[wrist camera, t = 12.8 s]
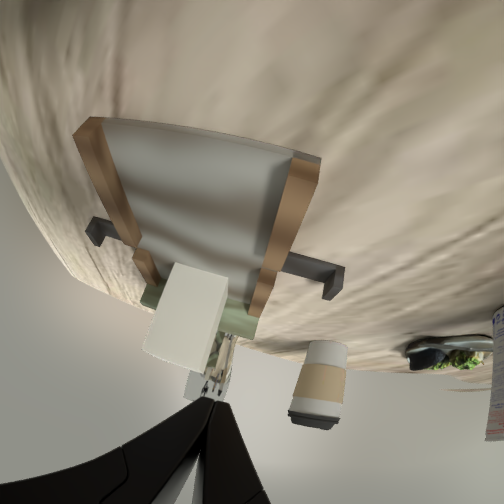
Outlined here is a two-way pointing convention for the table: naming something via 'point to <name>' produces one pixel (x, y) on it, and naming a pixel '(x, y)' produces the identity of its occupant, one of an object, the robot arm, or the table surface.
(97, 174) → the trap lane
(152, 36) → the table surface
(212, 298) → the block
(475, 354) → the salad plate
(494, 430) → the beverage can
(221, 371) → the beer glass
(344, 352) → the coffee cup
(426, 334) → the table surface
